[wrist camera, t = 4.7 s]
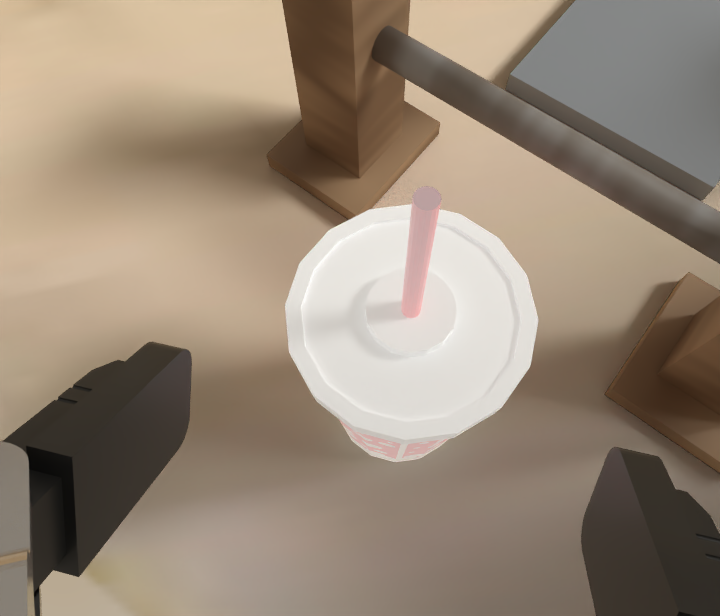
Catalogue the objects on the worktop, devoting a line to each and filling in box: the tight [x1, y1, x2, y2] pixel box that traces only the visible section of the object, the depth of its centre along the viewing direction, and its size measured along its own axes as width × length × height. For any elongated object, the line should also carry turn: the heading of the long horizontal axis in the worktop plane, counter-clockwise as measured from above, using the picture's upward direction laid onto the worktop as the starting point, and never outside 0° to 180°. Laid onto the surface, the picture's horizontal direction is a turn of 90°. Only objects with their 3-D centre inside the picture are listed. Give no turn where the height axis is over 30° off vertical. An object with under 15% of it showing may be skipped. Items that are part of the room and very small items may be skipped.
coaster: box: [505, 0, 720, 200], centre depth 28 cm, size 10×10×1 cm
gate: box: [267, 0, 720, 473], centre depth 20 cm, size 22×6×11 cm, turn 51°
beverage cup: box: [285, 186, 538, 462], centre depth 16 cm, size 6×6×14 cm
